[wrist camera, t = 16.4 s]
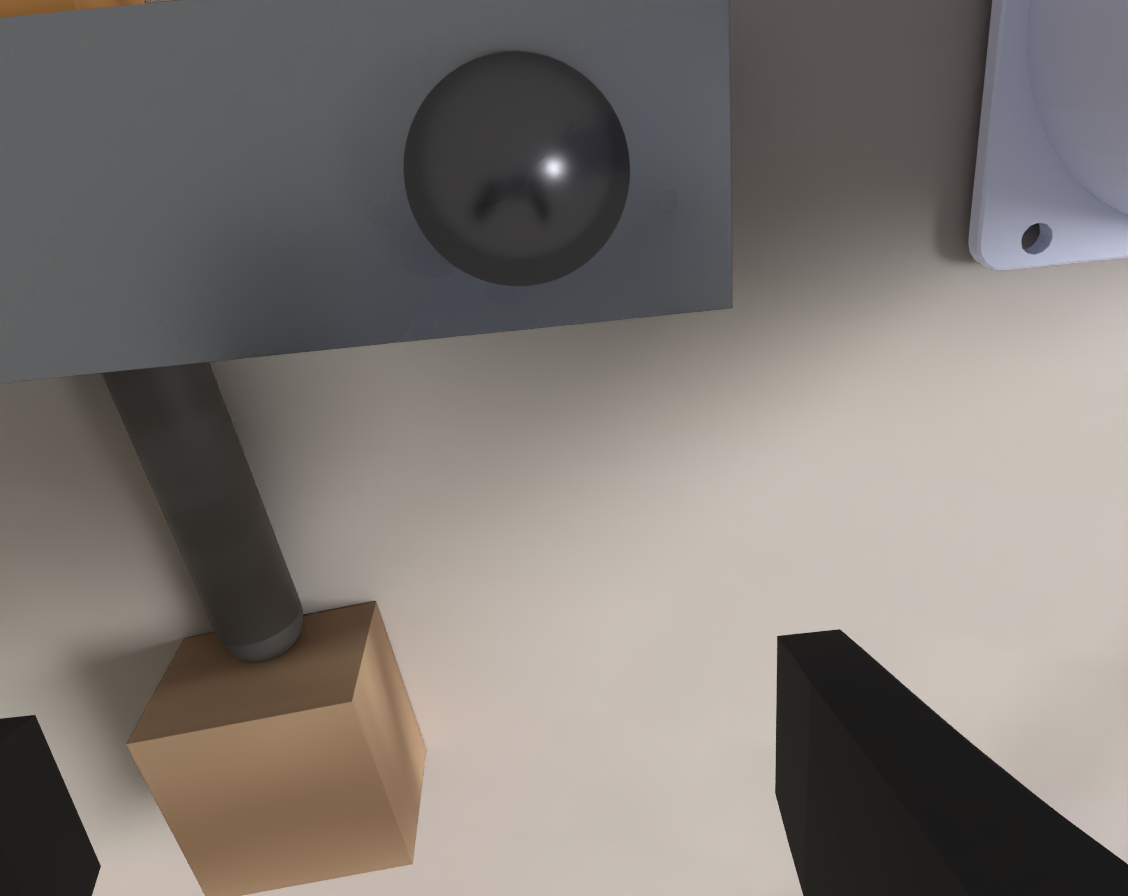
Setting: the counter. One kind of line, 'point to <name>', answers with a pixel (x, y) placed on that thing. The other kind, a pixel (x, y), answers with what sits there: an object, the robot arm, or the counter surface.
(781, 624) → the counter surface
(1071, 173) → the robot arm
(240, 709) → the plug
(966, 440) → the counter surface
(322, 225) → the motor housing
